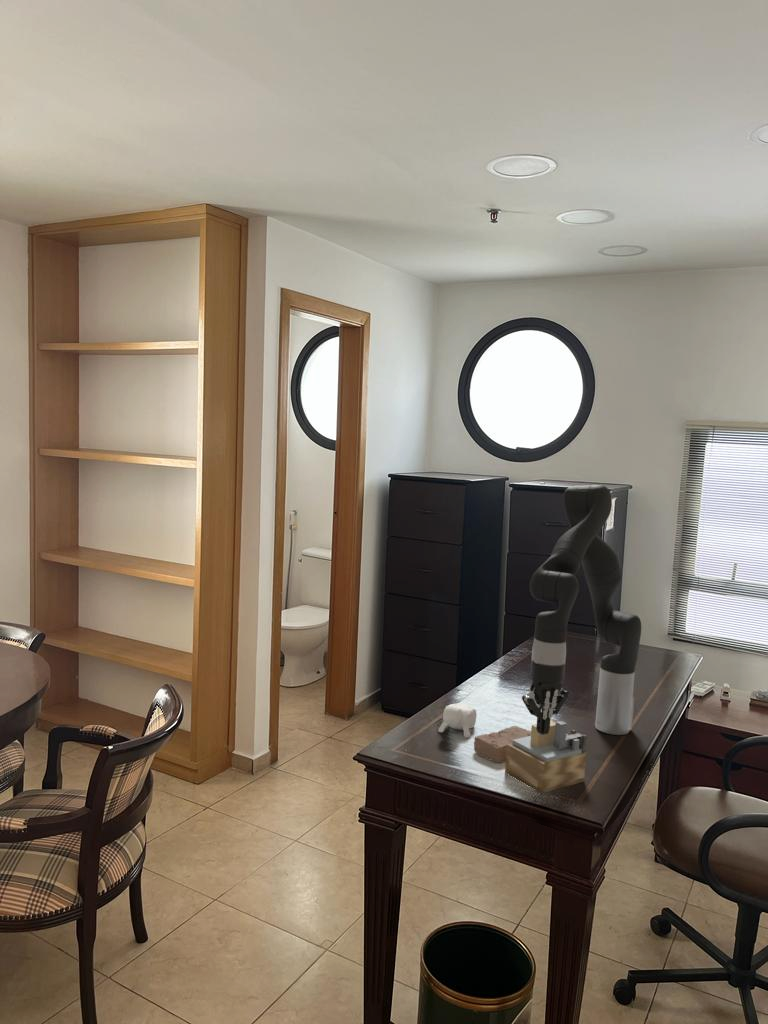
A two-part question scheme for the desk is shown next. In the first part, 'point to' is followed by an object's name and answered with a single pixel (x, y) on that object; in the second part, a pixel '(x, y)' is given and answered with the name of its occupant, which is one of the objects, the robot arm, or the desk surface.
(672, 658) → the desk surface
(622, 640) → the robot arm
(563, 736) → the grey angled block
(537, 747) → the lid
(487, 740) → the brick
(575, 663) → the desk surface
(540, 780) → the wooden box
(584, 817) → the desk surface
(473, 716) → the white animal figurine
